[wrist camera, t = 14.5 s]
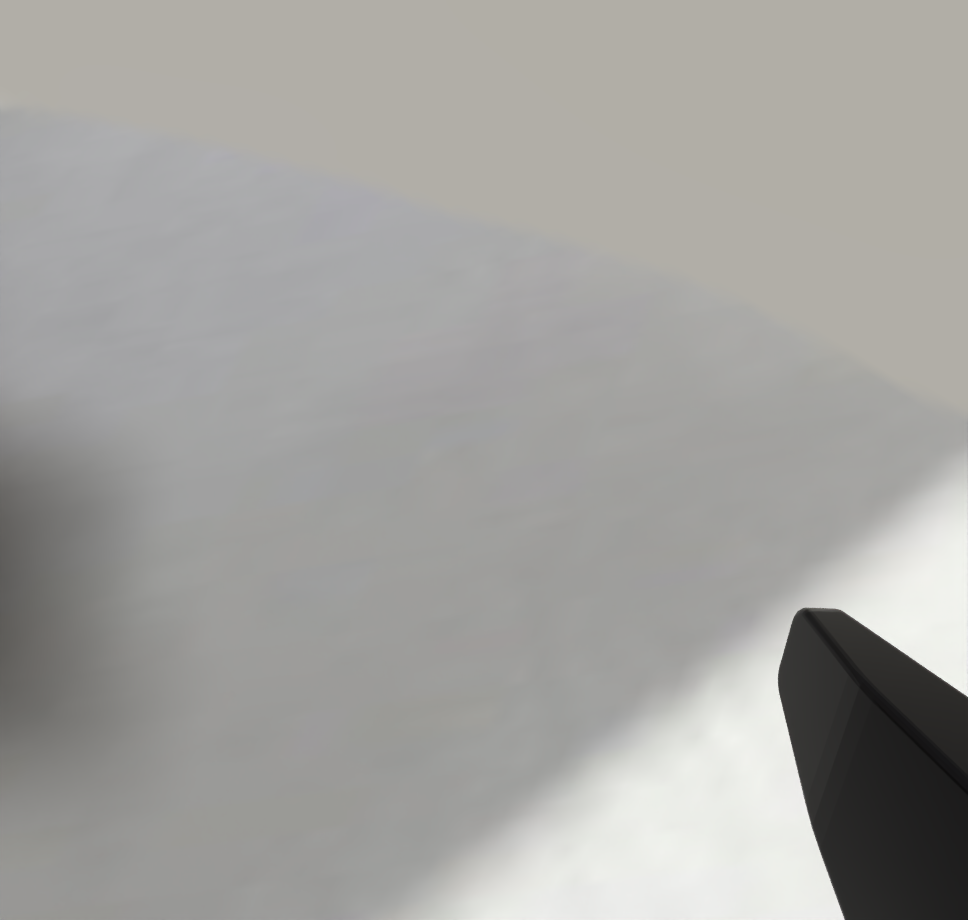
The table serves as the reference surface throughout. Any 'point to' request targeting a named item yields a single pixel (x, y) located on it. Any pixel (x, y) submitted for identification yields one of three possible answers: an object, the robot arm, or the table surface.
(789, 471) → the table surface
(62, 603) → the table surface
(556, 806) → the table surface
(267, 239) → the table surface
